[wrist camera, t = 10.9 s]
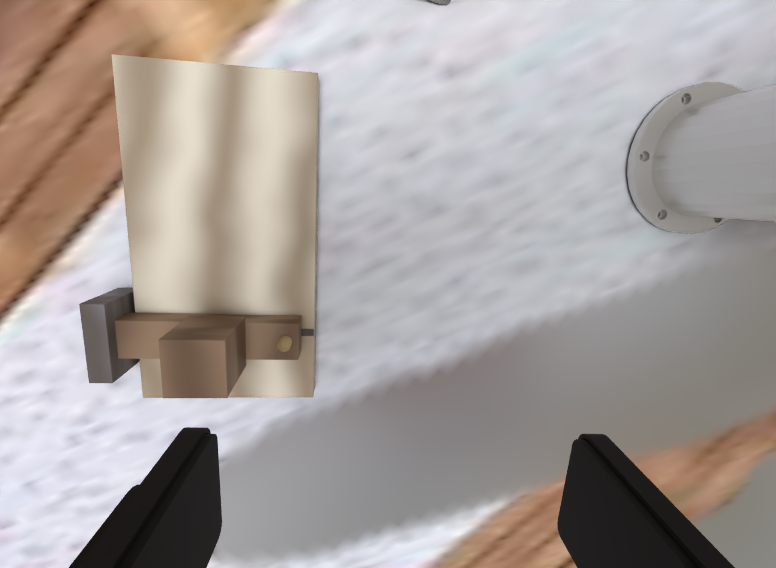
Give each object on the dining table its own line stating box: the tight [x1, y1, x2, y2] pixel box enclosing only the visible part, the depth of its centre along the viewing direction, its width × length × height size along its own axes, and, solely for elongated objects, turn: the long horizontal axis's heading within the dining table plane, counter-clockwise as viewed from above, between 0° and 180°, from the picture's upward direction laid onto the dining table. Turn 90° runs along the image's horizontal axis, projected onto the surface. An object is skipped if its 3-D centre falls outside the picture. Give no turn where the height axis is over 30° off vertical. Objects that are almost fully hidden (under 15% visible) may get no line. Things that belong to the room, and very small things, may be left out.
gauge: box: [79, 288, 302, 398], centre depth 29 cm, size 15×6×9 cm, turn 87°
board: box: [112, 55, 319, 398], centre depth 31 cm, size 14×26×2 cm, turn 177°
